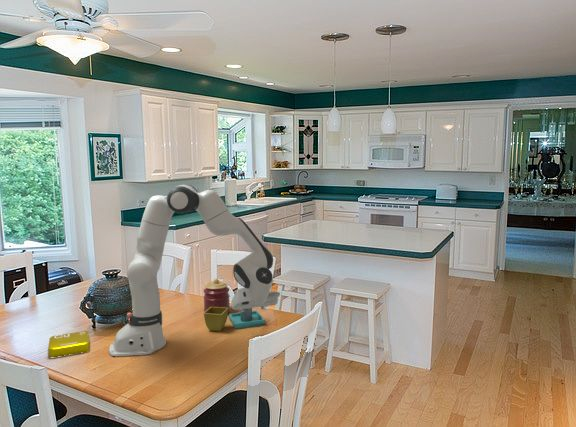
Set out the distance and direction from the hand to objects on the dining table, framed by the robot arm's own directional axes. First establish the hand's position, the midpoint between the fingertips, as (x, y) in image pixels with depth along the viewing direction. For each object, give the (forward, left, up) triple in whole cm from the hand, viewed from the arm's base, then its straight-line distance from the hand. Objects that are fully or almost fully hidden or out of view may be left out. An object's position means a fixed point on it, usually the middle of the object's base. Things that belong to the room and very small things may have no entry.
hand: (252, 309), depth 201 cm
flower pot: (-15, +8, -11) cm, 20 cm away
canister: (-11, +30, -11) cm, 34 cm away
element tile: (-76, +8, -11) cm, 77 cm away
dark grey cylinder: (0, +12, -9) cm, 15 cm away
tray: (0, +12, -10) cm, 16 cm away
